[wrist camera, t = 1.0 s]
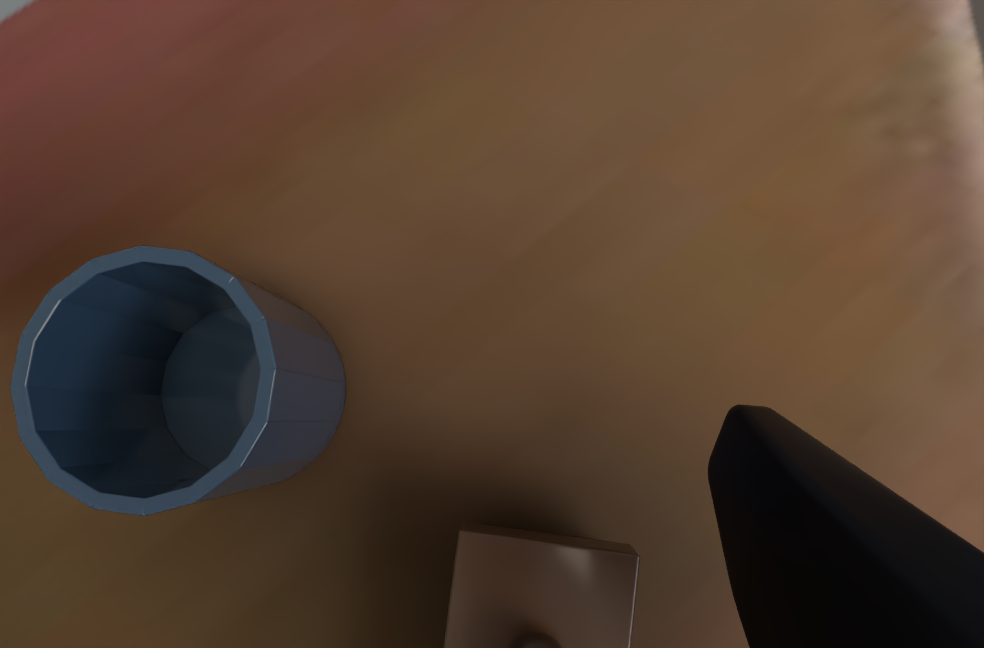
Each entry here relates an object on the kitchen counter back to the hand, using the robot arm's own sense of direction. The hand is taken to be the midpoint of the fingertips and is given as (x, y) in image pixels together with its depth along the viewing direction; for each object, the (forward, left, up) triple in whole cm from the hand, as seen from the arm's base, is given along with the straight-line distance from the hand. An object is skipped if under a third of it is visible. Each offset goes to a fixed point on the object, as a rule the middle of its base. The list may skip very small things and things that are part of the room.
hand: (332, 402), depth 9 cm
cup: (0, +7, -17) cm, 18 cm away
